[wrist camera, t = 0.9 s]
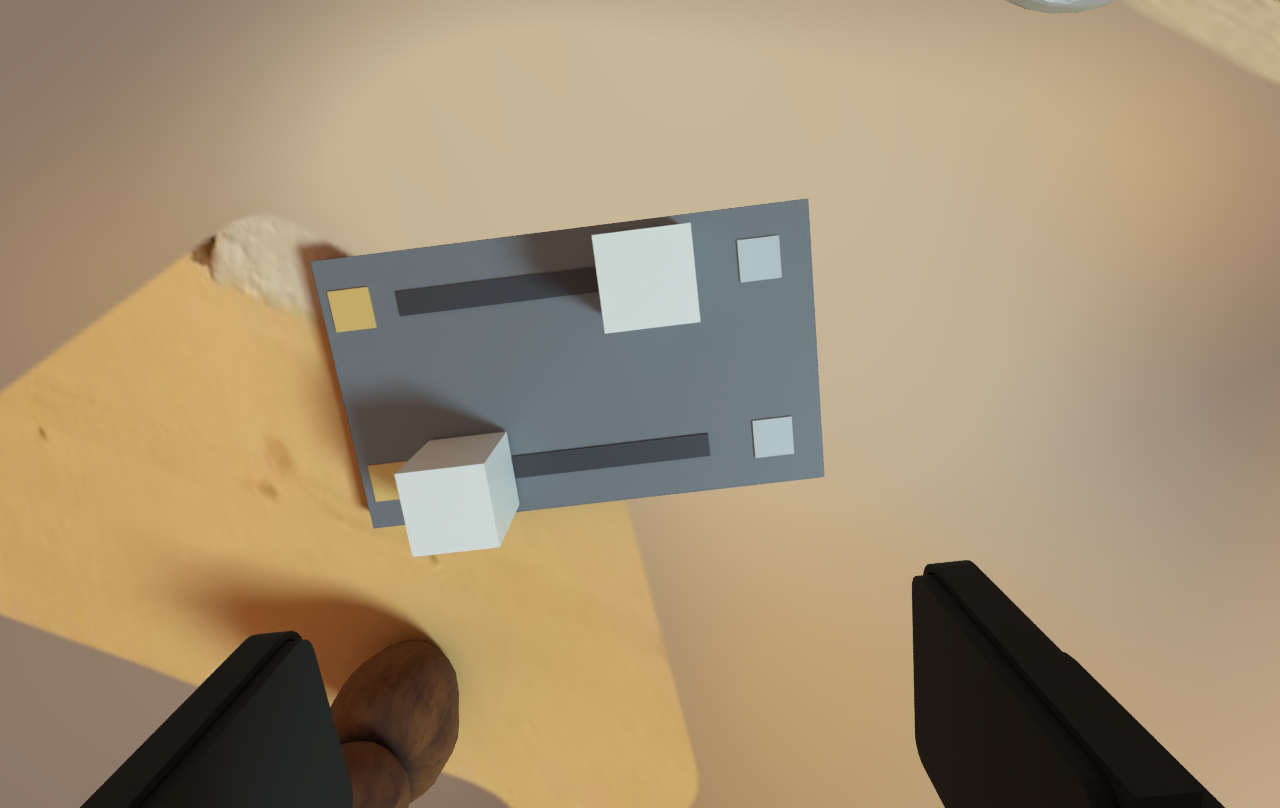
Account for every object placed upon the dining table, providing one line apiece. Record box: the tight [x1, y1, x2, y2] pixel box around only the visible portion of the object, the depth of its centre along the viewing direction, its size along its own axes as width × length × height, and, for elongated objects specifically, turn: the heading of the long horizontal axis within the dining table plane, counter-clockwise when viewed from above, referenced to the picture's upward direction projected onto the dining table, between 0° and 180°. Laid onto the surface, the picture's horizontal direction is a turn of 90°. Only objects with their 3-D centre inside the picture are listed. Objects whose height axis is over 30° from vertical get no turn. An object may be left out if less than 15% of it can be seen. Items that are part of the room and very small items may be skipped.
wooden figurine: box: [330, 641, 459, 808], centre depth 32 cm, size 7×6×15 cm
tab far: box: [394, 431, 519, 557], centre depth 32 cm, size 4×4×5 cm
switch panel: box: [311, 199, 824, 528], centre depth 34 cm, size 24×14×2 cm, turn 97°
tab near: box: [592, 223, 701, 334], centre depth 29 cm, size 4×4×5 cm
